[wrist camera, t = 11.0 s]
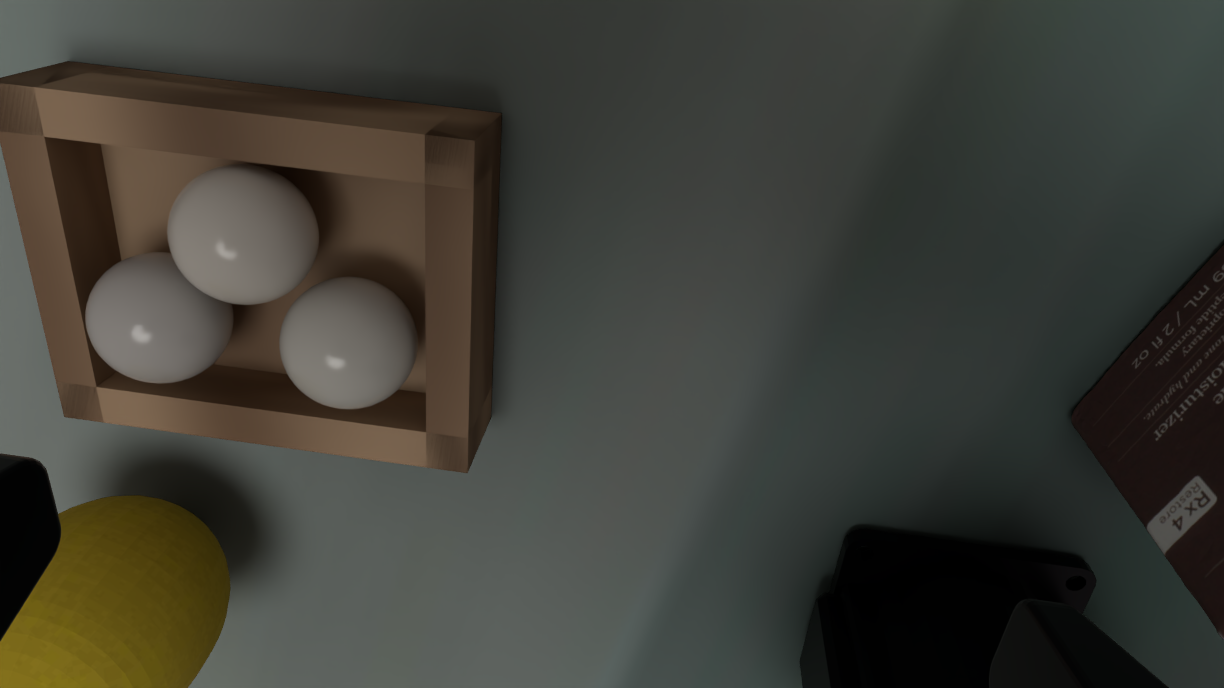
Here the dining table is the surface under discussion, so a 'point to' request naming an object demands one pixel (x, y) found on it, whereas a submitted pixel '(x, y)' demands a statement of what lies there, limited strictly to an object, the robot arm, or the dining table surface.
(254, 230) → the grey ball
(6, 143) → the pebble tray
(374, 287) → the grey sphere
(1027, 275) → the dining table surface
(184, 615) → the lemon
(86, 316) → the pebble
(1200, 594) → the box
